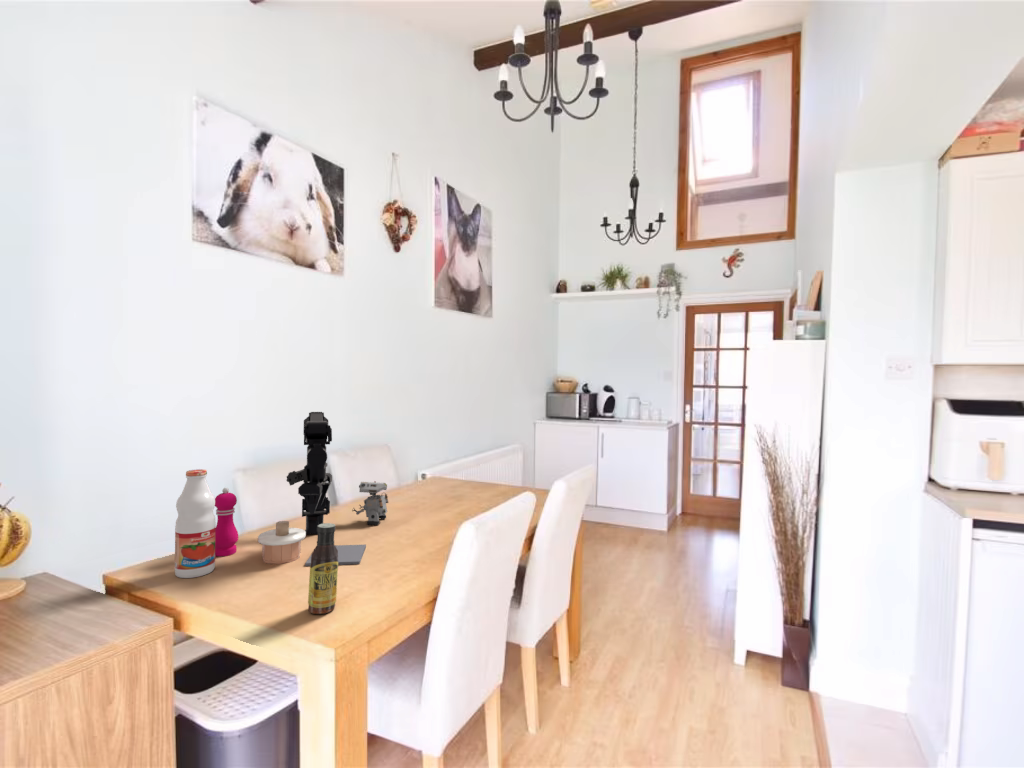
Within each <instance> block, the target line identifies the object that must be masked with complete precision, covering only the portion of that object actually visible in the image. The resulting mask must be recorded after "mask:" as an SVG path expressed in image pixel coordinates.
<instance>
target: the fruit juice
mask: <svg viewBox="0 0 1024 768" xmlns="http://www.w3.org/2000/svg"><path fill="white" fill-rule="evenodd" d="M207 471H208V470H207V469H200V468H199V469H197V468H196V469H190V470H186V472H185V478H186V482H185V484H184V487H183V490H182V492H181V493H180V495H179V497H178V498H177V500H176V505H175V508H176V511H177V518H176V521H175V525H174V527H175V529H174V532H175V533H174V535H175V536H174V574H175V577H177V578H180V579H193V578H197V577H203V576H206V575H208V574H210V573H212V572H213V571H214V570H215V566H216V556H215V528H216V525H217V522H216V515H215V513H214V509H215V498H216V496H215V495H214V494H213V493H212V491H211V489H210V487H209V485H208V484H209V483H208V481H207V479H206V477H207V475H208V472H207Z"/></svg>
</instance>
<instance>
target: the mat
mask: <svg viewBox="0 0 1024 768" xmlns="http://www.w3.org/2000/svg"><path fill="white" fill-rule="evenodd" d="M334 545H335V544H334ZM335 546H336V548H337V550H338V566H341V565H345V566H347V565H349V566H350V565H361V561H362V559H363V557H364V554H365V551H366V548H367V544H342V545H341V544H339V545H337V544H336V545H335ZM311 555H312V553H311V554H310V556H309V557H308V559H307V560H306V562H305V567H310V565H311Z"/></svg>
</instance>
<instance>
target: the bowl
mask: <svg viewBox="0 0 1024 768" xmlns="http://www.w3.org/2000/svg"><path fill="white" fill-rule="evenodd" d="M301 543H302V540H301V541H299V542H296V543H292V544H286V545H276V546H271V545H263V544H261V546H262V548H261V549H262V551H261V558H262V561H263V563H265V564H267V565H281V564H288V563H292V562H294V561H297V560H298V559H300V556H301V553H302V552H301V550H302V548H301V547H302V545H301Z"/></svg>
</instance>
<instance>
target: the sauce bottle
mask: <svg viewBox="0 0 1024 768" xmlns="http://www.w3.org/2000/svg"><path fill="white" fill-rule="evenodd" d="M335 531H336V524H335V523H333V522H332V523H331V522H329V523H328V522H326V523H324V522H323V524H319V525H318V526H317V532H318V534H317V539H316V540H317V541H316V546H315V548H314V549H313V551H312V553H311V554H312V555H311V554H310V556H311V565H310V566H309V579H308V580H309V582H308V594H307V595H308V599H307V605H308V612H309V613H310V614H313V615H325V614H328V613H330V612H332V611H334V610H335V607H336V602H337V597H338V596H337V595H338V594H337V592H338V591H337V590H338V576H339V575H338V574H339V573H338V571H339V565H338V550H337V548H336V546H335Z"/></svg>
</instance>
